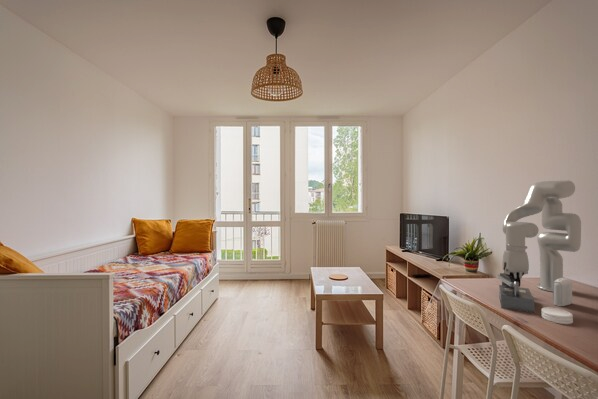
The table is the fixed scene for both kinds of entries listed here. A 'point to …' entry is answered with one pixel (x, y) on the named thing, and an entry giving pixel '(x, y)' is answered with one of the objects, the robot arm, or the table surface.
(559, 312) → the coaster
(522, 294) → the grey lever box
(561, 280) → the photo printer
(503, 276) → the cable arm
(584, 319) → the table surface
